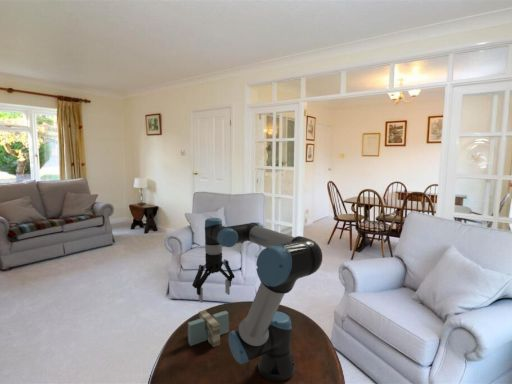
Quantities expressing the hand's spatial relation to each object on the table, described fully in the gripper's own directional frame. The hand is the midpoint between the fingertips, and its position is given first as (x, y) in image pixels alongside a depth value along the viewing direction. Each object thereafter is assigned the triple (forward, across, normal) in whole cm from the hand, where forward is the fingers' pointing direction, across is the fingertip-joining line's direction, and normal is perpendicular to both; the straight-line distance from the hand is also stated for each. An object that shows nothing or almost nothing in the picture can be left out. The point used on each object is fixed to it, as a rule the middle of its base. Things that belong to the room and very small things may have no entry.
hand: (214, 297), depth 138 cm
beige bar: (+23, 0, -6) cm, 24 cm away
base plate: (+23, 0, -6) cm, 23 cm away
